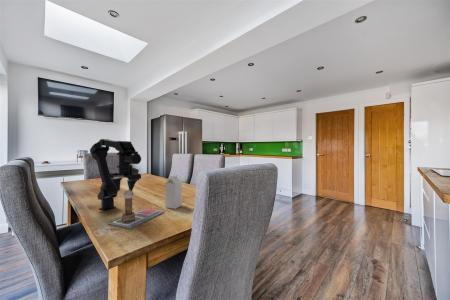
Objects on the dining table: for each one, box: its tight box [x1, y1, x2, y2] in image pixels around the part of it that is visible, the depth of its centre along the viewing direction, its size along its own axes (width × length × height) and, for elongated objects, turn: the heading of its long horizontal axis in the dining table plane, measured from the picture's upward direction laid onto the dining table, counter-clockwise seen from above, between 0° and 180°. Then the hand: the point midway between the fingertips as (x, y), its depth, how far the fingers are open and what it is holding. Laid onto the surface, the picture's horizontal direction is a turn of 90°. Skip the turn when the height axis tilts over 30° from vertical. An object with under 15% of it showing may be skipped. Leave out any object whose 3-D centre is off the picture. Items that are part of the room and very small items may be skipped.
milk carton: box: [164, 175, 183, 210], centre depth 115 cm, size 7×7×19 cm
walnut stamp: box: [121, 189, 135, 223], centre depth 92 cm, size 5×5×15 cm
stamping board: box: [107, 208, 165, 230], centre depth 96 cm, size 14×23×2 cm, turn 160°
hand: (124, 191), depth 104 cm, fingers open, 9 cm apart
